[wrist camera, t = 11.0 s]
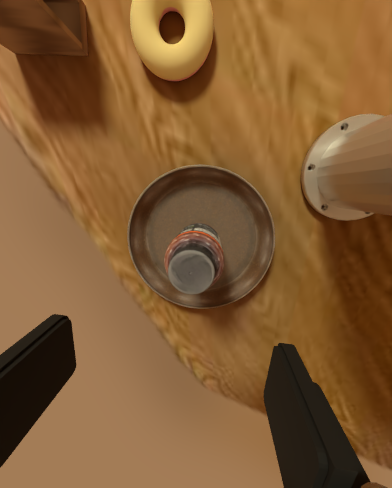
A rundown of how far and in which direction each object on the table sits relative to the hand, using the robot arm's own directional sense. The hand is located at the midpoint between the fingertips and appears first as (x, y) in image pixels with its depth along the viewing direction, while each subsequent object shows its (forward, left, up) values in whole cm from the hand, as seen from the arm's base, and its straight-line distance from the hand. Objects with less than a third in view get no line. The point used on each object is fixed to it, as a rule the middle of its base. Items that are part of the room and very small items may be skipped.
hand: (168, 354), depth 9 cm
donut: (+5, -25, -23) cm, 34 cm away
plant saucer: (0, 0, -23) cm, 23 cm away
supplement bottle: (0, 0, -19) cm, 19 cm away
